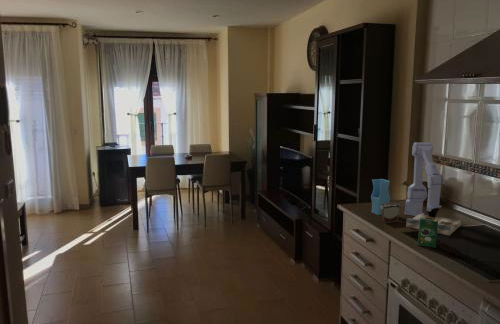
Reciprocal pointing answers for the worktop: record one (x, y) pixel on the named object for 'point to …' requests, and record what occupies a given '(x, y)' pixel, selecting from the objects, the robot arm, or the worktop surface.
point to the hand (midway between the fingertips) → (431, 221)
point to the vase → (379, 195)
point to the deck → (444, 224)
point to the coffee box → (427, 232)
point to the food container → (390, 212)
